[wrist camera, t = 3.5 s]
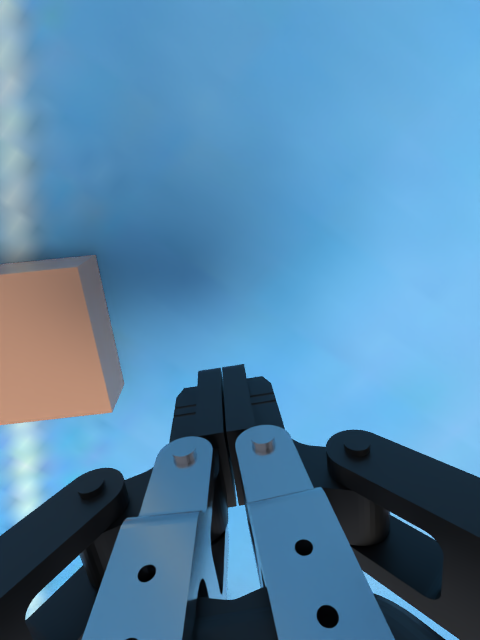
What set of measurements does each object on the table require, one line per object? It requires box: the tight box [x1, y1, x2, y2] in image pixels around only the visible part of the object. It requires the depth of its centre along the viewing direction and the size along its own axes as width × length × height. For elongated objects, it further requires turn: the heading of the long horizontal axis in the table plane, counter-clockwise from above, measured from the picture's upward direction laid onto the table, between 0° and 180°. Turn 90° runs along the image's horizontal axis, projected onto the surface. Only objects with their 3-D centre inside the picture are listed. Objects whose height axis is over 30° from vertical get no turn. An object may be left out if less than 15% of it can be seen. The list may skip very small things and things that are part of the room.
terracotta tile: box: [0, 255, 124, 425], centre depth 18 cm, size 7×7×3 cm
